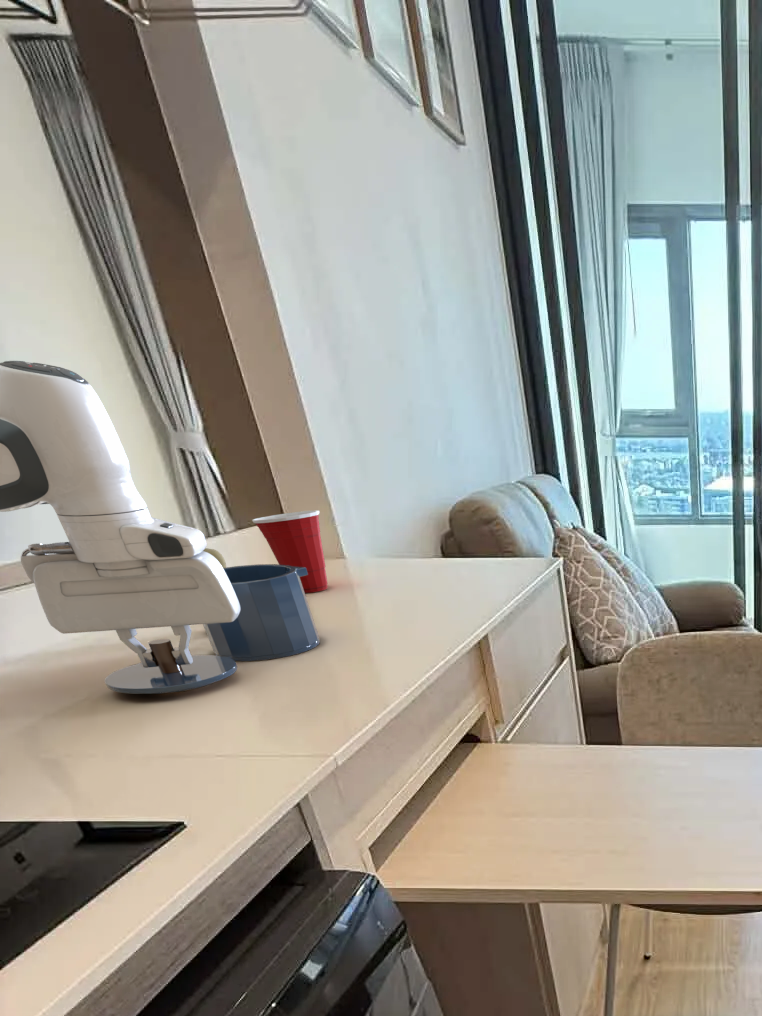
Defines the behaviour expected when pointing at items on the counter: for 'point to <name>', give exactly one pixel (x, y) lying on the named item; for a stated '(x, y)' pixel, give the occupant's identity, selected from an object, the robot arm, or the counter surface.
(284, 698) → the counter surface
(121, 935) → the counter surface
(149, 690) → the lid
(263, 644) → the pot
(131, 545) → the robot arm
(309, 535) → the plastic cup
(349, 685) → the counter surface
